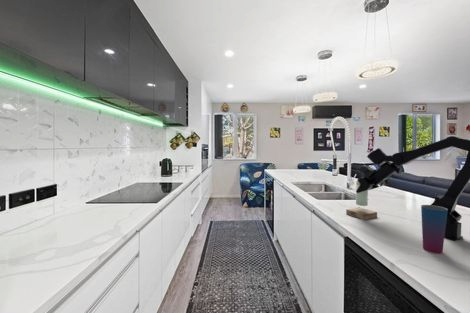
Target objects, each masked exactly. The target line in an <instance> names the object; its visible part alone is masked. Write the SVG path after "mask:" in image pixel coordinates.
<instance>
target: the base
mask: <svg viewBox="0 0 470 313" xmlns="http://www.w3.org/2000/svg"><path fill="white" fill-rule="evenodd" d="M345 211H346V212H345V213H346V215H347V216H352V217H355V218H358V219H361V220H368V219H375V218H378V212H377V211H373V210H371V209H367V208H365V207H361V206H359V207H354V208H347V209H346V210H345Z"/></svg>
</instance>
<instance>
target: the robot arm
mask: <svg viewBox="0 0 470 313" xmlns="http://www.w3.org/2000/svg"><path fill="white" fill-rule="evenodd" d="M452 147H453V148H456V149H459V150H463V151H466V152H467V154H466V159H465V162H464V164H463V165H462V167H461V169H460V170H459V172H458V173H457V175H456V176H455V178H454V179H453V181H452V183H450V185H449V187H448V189H447V190H446V192H445V193H444V194H443V195H441V194H439V195H437V196H435V198H434V201H433V202H432V203H430V205H434V206H440V207H444V208H447V209H448V212H447V220H446V228H445V236H444V239H449V240H452V241H458V240H462V239H464V236H462V222H459V221H460V220H461V219H462V215H461V214H460V213H459V212H458V211H457V210H456V206H457V203H458V199H459V198H460V196H461V195H462V193H463V191H465V189H466V187H467V186H468V184H469V183H470V140H469V139H466V138H465V139H464V138H460V137H459V136H455V135H454V136H453V135H451V136H447V137H446V138H444V139H440V140H438V141H434V142H432V143H428V144H427V145H423V146H421V147H418V148H417V147H416V148H414V149H410V150H404V151H399V152H396V153H393V154H392V155H390V154H389V155H387V154H386V153H385V152H384V151H383V150H382V148H380V147H378V148H376V149H375V150H372V151H371V152H369V153H368V155H367V156H366V158H368V159H369V160H370V162H372V163H373V165H375V166H379V167H378V168H377V169H373V168H372V167H370V166H368V165H364V164H363V165H361V166H360V167H359V170H358V171H359V173H363V174H365V175H366V176H361V177H359V178H357V180H356V181H358V182H359V183H360V186H359V187H358V189H357V190H356V189H355V193H356V192H357V193H359V192H363V191H366V190H368V191H371V190H373V189H378V188H380V187H381V188H382V187H383V186H384V185H386V181H385V180H388V179H389V177H390V176H392V175H393V174H394V173H396V174H398V175H399V174H402V173H403V172H402V171H403V170H402V169H403V168H402V167H398V166H405V165H406V166H407V165H408V164H410V163H412V162H414V161H416V160H418V159H419V158H421V157H424V156H427V155H431V154H434V153H438V152H439V151H442V150H446V149H449V148H452Z"/></svg>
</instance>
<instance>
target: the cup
mask: <svg viewBox="0 0 470 313" xmlns="http://www.w3.org/2000/svg"><path fill="white" fill-rule="evenodd" d="M420 208H421V209H420V210H421V211H420V212H421V233H422V249H423V250H424V251H427V252H429V253H432V254H443V250H444V243H445V237H444V236H445V228H446V220H447V212H448V209H447V208H444V207H440V206H434V205H431V204H422V205H421V206H420Z"/></svg>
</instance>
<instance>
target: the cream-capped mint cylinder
mask: <svg viewBox="0 0 470 313" xmlns="http://www.w3.org/2000/svg"><path fill="white" fill-rule="evenodd" d="M355 182H356V186H355V187H356V189H355V193H356V194H355V196H356V198H355V205H357V206H359V207H361V206H362V207H366V206H368V201H369V199H368V197H369V195H368V194H369V190H366V191H363V192H359V193H357V192H356V190H357V189H358V187H359V186H360V183H359V182H358V181H357V180H356V181H355Z"/></svg>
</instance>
